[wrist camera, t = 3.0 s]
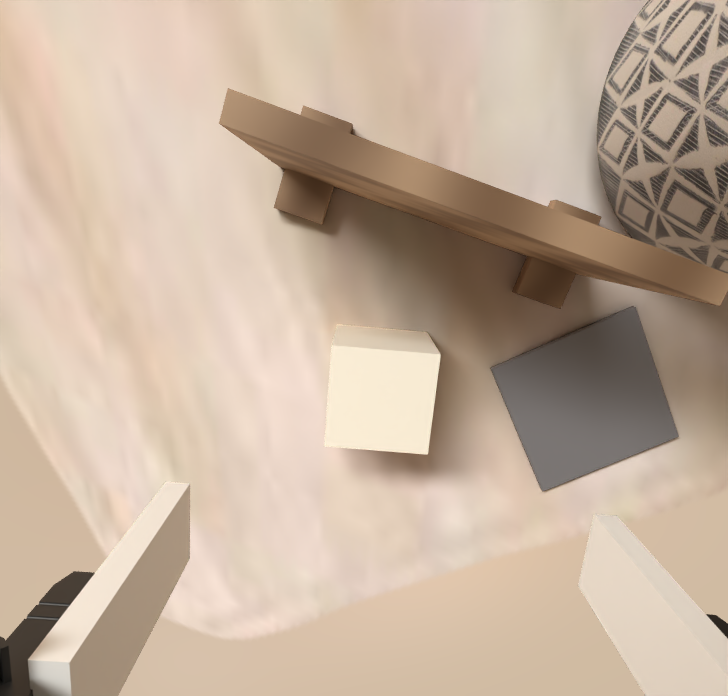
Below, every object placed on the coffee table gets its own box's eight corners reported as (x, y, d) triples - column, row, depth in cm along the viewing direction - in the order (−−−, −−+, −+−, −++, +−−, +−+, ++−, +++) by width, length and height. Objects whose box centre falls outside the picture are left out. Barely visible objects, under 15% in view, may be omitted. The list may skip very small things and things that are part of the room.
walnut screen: (269, 205, 30) (202, 190, 18) (297, 106, 29) (246, 14, 16) (561, 309, 32) (690, 362, 19) (601, 219, 31) (768, 214, 18)
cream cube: (337, 323, 32) (331, 345, 27) (426, 331, 32) (440, 354, 27) (330, 411, 34) (323, 450, 28) (416, 418, 34) (427, 458, 28)
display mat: (490, 368, 33) (491, 369, 33) (632, 306, 32) (635, 307, 32) (540, 488, 35) (542, 491, 35) (675, 434, 34) (678, 436, 34)
